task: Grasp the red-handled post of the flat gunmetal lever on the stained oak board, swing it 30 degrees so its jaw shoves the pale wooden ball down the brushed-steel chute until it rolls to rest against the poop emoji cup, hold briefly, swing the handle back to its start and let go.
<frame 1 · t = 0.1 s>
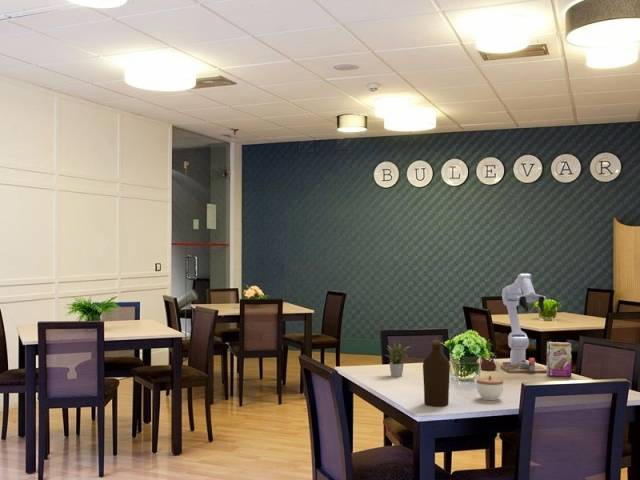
hand: (534, 310, 354), 32 cm above the table, tool tilted 50°, fingers open, 7 cm apart
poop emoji: (488, 369, 367), on the table
olive oil: (436, 404, 279), on the table
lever: (525, 362, 362), point 4 cm above the table, hinge at 0.0°
house plant: (398, 376, 343), on the table
board: (524, 370, 363), on the table
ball: (516, 367, 365), point 1 cm above the table, touching board
lidded jar: (489, 399, 290), on the table
candy bar box: (559, 376, 348), on the table
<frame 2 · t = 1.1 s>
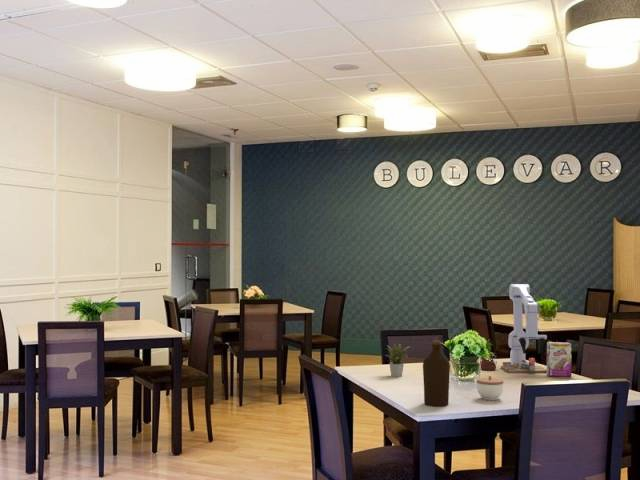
hand: (531, 353, 356), 10 cm above the table, tool pointing down, fingers open, 7 cm apart
nothing on the table moved.
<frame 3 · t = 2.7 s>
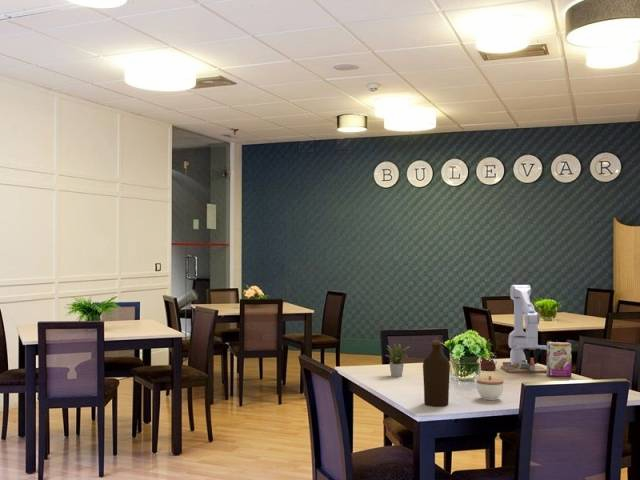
hand: (531, 363, 356), 5 cm above the table, tool pointing down, fingers closed on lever, 3 cm apart
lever: (525, 362, 362), point 4 cm above the table, hinge at 0.0°, touching gripper
everything else where it was.
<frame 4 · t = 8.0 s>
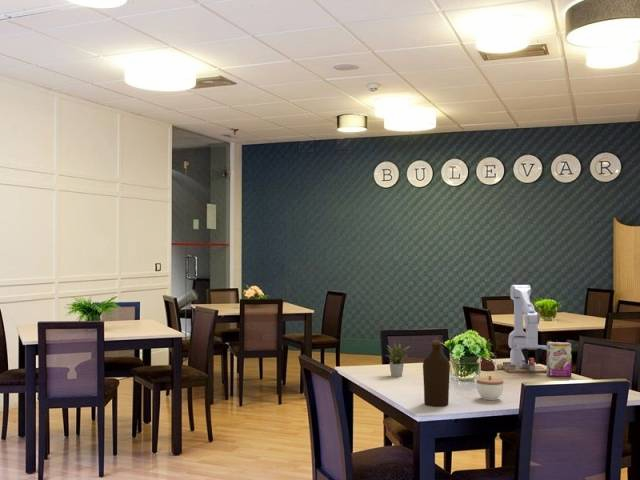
hand: (531, 363, 356), 5 cm above the table, tool pointing down, fingers open, 4 cm apart
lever: (525, 362, 362), point 4 cm above the table, hinge at 0.1°
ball: (498, 368, 367), on the table, tilted 48°
everything else where it was.
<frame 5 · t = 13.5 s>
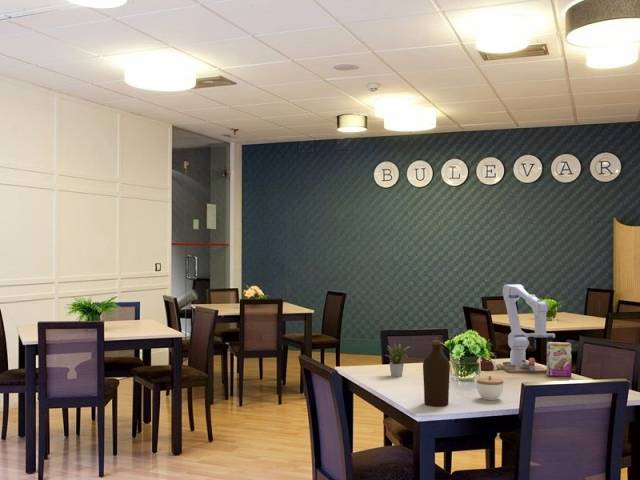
hand: (540, 351, 364), 10 cm above the table, tool pointing down, fingers open, 7 cm apart
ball: (498, 368, 367), on the table, tilted 38°
at the end: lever at +0° (first picture: +0°); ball inside the target area (1.6 cm from its centre), on the table; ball 6.2 cm from the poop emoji (horizontally) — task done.
